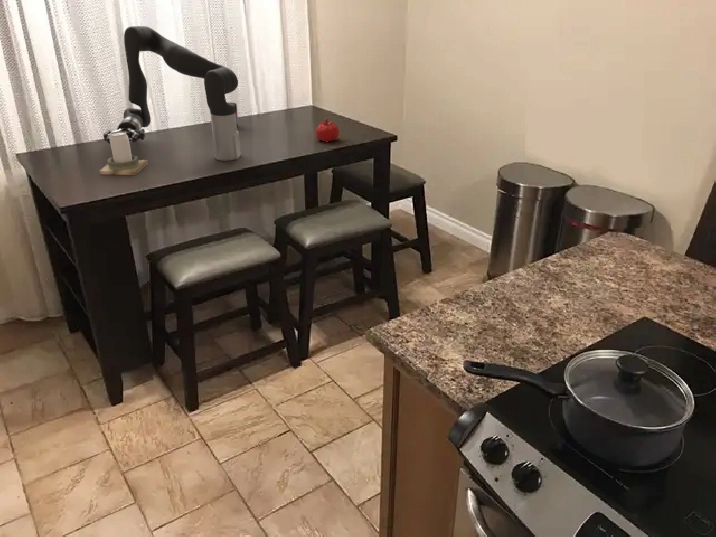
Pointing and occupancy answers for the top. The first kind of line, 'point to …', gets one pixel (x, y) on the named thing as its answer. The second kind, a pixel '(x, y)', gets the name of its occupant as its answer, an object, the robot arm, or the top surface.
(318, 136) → the pomegranate
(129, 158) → the can
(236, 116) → the supplement container
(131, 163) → the can holder
